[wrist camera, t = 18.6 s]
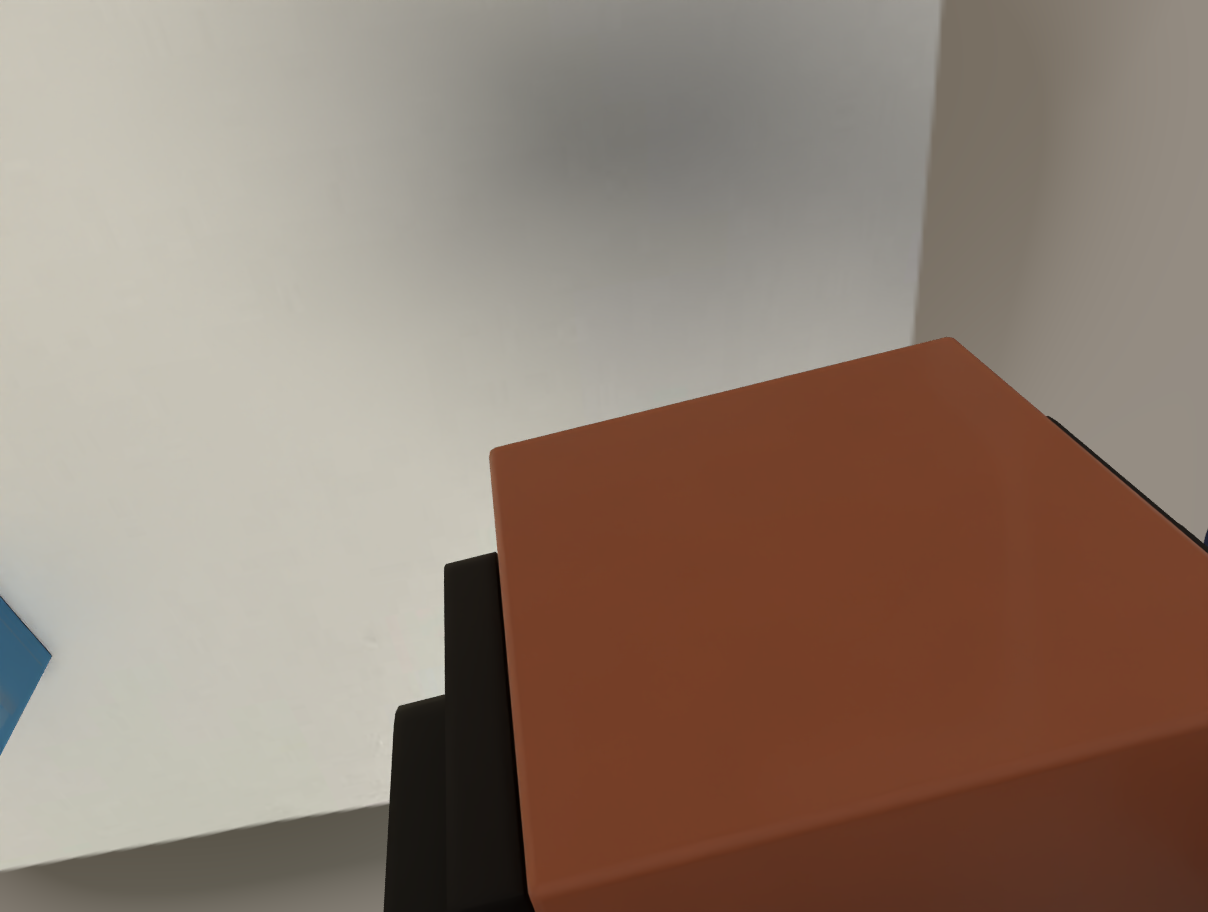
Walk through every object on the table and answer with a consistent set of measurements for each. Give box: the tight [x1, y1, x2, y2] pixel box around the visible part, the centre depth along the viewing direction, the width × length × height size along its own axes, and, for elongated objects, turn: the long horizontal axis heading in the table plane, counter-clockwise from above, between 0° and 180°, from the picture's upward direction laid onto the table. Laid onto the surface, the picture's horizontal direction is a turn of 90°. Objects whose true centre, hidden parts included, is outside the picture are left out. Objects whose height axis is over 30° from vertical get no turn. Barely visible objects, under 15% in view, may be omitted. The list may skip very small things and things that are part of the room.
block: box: [489, 337, 1208, 912], centre depth 9 cm, size 5×5×5 cm
